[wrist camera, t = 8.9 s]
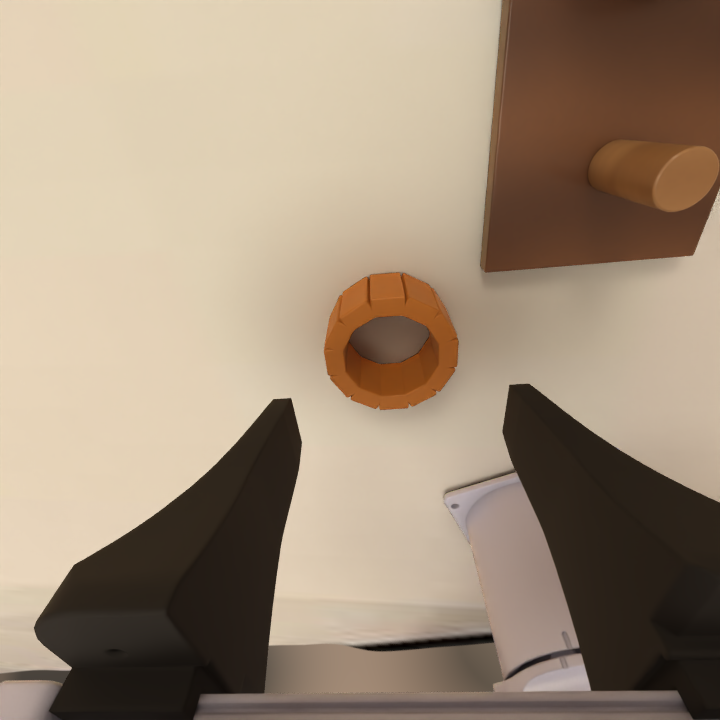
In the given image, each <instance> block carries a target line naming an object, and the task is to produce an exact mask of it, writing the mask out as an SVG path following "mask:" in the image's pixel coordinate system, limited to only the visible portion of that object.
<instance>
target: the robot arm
mask: <svg viewBox="0 0 720 720" xmlns="http://www.w3.org/2000/svg"><path fill="white" fill-rule="evenodd" d="M503 435H504V439H505V442H506V446H507V449H508V452H509V455H510V458H511V461H512V463H513V466H514V468H515V470H516V472H515V473H511V474H508V475H505V476H501V477H498V478H495V479H491V480H488V481H485V482H481V483H478V484H475V485H471V486H468V487H464V488H461V489H458V490H454V491H451V492H448V493H446V494H445V495H444V497H443V499H444V503H445V505H446V507H447V508H448V510H449V511H450V513H451V515H452V516H453V518H454V519H455V521H456V523H457V524H458V526H459V528H460V529H461V531H462V532H463V534H464V536H465V537H466V539H467V540H468V542H469V544H470V545H471V548H472V552H473V556H474V560H475V564H476V568H477V572H478V576H479V581H480V585H481V589H482V593H483V597H484V601H485V605H486V609H487V613H488V618H489V622H490V626H491V630H492V634H493V638H494V642H495V646H496V651H497V655H498V659H499V663H500V667H501V671H502V675H503V679H504V681H502V682H498V683H494V684H493V689H494V692H406V693H405V692H403V693H402V692H401V693H400V692H399V693H271V694H267V693H264V690H265V678H266V667H267V656H268V645H269V635H270V626H271V617H272V608H273V600H274V592H275V584H276V576H277V569H278V562H279V555H280V548H281V542H282V537H283V532H284V528H285V524H286V520H287V516H288V512H289V508H290V504H291V500H292V496H293V492H294V488H295V484H296V479H297V475H298V471H299V464H300V455H301V446H302V441H301V437H300V433H299V429H298V424H297V420H296V416H295V412H294V408H293V404H292V400H291V398H287V399H273V400H272V402H271V403H270V404H269V405H268V406H267V407H266V409H265V410H264V411H263V412H262V413H261V415H260V416H259V417H258V418H257V419H256V421H255V422H254V423H253V424H252V425H251V427H250V428H249V429H248V430H247V431H246V432H245V433H244V435H243V436H242V437H241V438H240V439H239V440H238V441H237V443H236V444H235V445H234V446H233V447H232V448H231V449H230V450H229V451H228V452H227V453H226V454H225V455H224V456H223V457H222V458H221V459H220V460H219V462H218V463H217V464H216V465H215V466H213V467H212V468H211V469H210V470H209V471H208V472H207V473H206V474H205V475H204V476H203V477H201V478H200V479H199V480H198V481H197V482H196V483H195V484H194V485H192V486H191V487H190V488H189V489H188V490H186V491H185V492H184V493H183V494H181V495H180V496H179V497H177V498H176V499H175V500H173V501H172V502H171V503H170V504H168V505H167V506H166V507H164V508H163V509H162V510H161V511H159V512H158V513H156V514H155V515H154V516H152V517H151V518H149V519H148V520H146V521H145V522H144V523H142V524H141V525H139V526H138V527H136V528H135V529H133V530H132V531H130V532H129V533H127V534H125V535H124V536H122V537H121V538H119V539H118V540H116V541H114V542H113V543H111V544H109V545H108V546H106V547H104V548H102V549H101V550H99V551H97V552H96V553H94V554H92V555H91V556H89V557H87V558H86V559H84V560H82V561H80V562H78V563H77V564H75V565H74V566H73V567H72V569H71V570H70V572H69V573H68V575H67V576H66V578H65V579H64V581H63V582H62V584H61V585H60V587H59V588H58V590H57V591H56V593H55V594H54V596H53V597H52V599H51V600H50V602H49V603H48V605H47V606H46V608H45V609H44V611H43V612H42V614H41V615H40V617H39V618H38V620H37V621H36V624H35V627H34V630H35V633H36V636H37V639H38V640H39V641H40V642H41V643H42V644H43V645H44V646H45V647H46V648H48V649H49V650H50V651H52V652H53V653H54V654H55V655H57V656H58V657H59V658H60V659H62V660H63V661H64V662H66V663H67V664H68V665H69V666H71V667H72V669H71V671H70V673H69V675H68V676H67V678H66V680H65V682H64V684H61V683H58V682H54V681H47V680H24V681H4V682H2V683H0V720H720V503H719V502H717V501H715V500H713V499H711V498H708V497H706V496H704V495H702V494H700V493H698V492H696V491H693V490H691V489H689V488H687V487H685V486H683V485H682V484H680V483H678V482H676V481H674V480H672V479H670V478H668V477H666V476H664V475H662V474H660V473H658V472H656V471H655V470H653V469H651V468H649V467H647V466H646V465H644V464H642V463H640V462H639V461H637V460H635V459H634V458H632V457H630V456H628V455H627V454H625V453H623V452H622V451H620V450H619V449H617V448H616V447H614V446H612V445H611V444H609V443H608V442H606V441H605V440H603V439H602V438H601V437H599V436H598V435H596V434H595V433H593V432H592V431H590V430H589V429H588V428H586V427H585V426H583V425H582V424H581V423H579V422H578V421H577V420H575V419H574V418H573V417H571V416H570V415H569V414H567V413H566V412H565V411H563V410H562V409H561V408H559V407H558V406H557V405H556V404H554V403H553V402H552V401H551V400H549V399H548V398H547V397H546V396H544V395H543V394H542V393H541V392H539V391H538V390H537V389H535V388H534V387H533V386H531V385H530V384H516V385H509V392H508V399H507V405H506V412H505V418H504V425H503Z"/></svg>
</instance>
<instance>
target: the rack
mask: <svg viewBox="0 0 720 720" xmlns="http://www.w3.org/2000/svg"><path fill="white" fill-rule="evenodd" d="M719 189H720V0H503V2H502V14H501V26H500V38H499V50H498V62H497V74H496V86H495V97H494V109H493V121H492V133H491V145H490V157H489V169H488V181H487V193H486V205H485V216H484V228H483V240H482V252H481V264H480V266H481V268H482V269H483V270H484V272H486V273H487V272H499V271H511V270H523V269H535V268H547V267H560V266H572V265H584V264H596V263H608V262H620V261H632V260H644V259H656V258H668V257H681V256H692V255H693V254H694V252H695V249H696V247H697V244H698V242H699V239H700V237H701V234H702V232H703V229H704V227H705V224H706V221H707V219H708V216H709V214H710V211H711V209H712V206H713V204H714V201H715V199H716V196H717V194H718V191H719Z"/></svg>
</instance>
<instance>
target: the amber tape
mask: <svg viewBox="0 0 720 720" xmlns="http://www.w3.org/2000/svg"><path fill="white" fill-rule="evenodd" d="M401 315H402V316H405V317H407V318H409V319H411V320H414V321H416V322H418V323H421V324H423V325H425V326H426V327H427V328H428V330H429V338H428V339H427V341H426V342H425V344H424V346H423V347H422V349H421V350H420V352H419V353H417V354H416V355H414V356H412V357H410V358H408V359H407V360H405V361H403V362H401V363H388V364H378V363H376V362H373V361H370V360H368V359H365V358H363V357H361V356H360V355H359V354H358V353H357V351H356V350H355V349H354V348H353V347H352V345H351V344H350V343H349V339H350V337H351V335H352V333H353V331H354V330H356V329H357V328H359V327H360V326H362V325H364V324H365V323H367V322H369V321H370V320H372V319H373V318H375V317H388V316H401ZM458 342H459V341H458V339H457V334H456V332H455V329H454V327H453V324H452V322H451V320H450V317H449V315H448V312H447V310H446V308H445V306H444V305H443V303H442V301H441V300H440V298H439V297H438V295H437V294H436V292H435V291H434V289H433V288H430V285H429V284H427V283H424V282H422V281H420V280H418V279H416V278H414V277H411V276H409V275H407V274H405V273H403V275H402V277H401V275H400V273H387V274H375V275H370V280H369V279H368V278H367V277H365V278H363V279H362V280H360V281H359V282H357V283H356V284H354V285H353V286H351V287H350V288H348V289H347V290H345V291H344V292H343V296H342V295H340V296H339V299H338V301H337V303H336V305H335V307H334V309H333V312H332V314H331V316H330V319H329V324H328V329H327V335H326V340H325V347H324V355H325V361H326V366H327V372H328V375H330V379H331V380H332V382H333V383H334V384H335V385H336V386H337V387H338V388H339V389H340V390H341V391H342V392H343V393H344V395H345V396H346V397H350V396H351V400H353V401H355V402H358V403H361V404H363V405H366V406H369V407H372V408H374V409H376V408H377V407H378V406H379V408H380V410H386V409H402V408H408V407H409V405H408V403H409V404H410V405H411V406H415V405H417V404H419V403H421V402H423V401H425V400H427V399H429V398H430V397H432V396H434V395H436V391H441V389H442V388H443V387H444V385H445V384H446V383H447V381H448V380H449V378H450V377H451V376H452V374H453V373H454V372H455V368H454V367H457V360H458Z"/></svg>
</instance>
